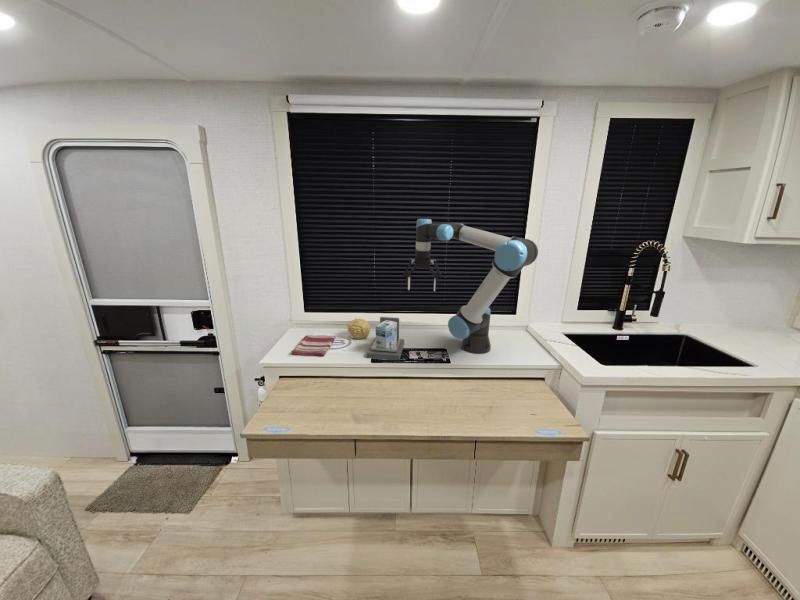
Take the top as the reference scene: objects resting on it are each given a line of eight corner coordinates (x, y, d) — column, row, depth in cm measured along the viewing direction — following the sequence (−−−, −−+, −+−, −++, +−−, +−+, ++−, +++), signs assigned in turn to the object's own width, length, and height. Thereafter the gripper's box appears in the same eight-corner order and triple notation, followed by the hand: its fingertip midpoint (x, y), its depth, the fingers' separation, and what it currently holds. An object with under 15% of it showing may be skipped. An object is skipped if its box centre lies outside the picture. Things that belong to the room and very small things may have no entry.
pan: (400, 342, 171) (400, 339, 171) (397, 353, 159) (397, 350, 159) (376, 340, 173) (376, 337, 172) (371, 351, 161) (371, 348, 160)
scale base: (404, 343, 176) (404, 318, 172) (399, 360, 157) (399, 332, 153) (375, 341, 178) (375, 316, 174) (366, 357, 159) (366, 330, 155)
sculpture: (345, 339, 180) (344, 321, 177) (355, 331, 191) (354, 314, 188) (364, 342, 177) (364, 323, 174) (373, 334, 188) (373, 316, 185)
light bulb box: (386, 349, 159) (386, 328, 156) (375, 346, 163) (374, 325, 160) (397, 341, 168) (397, 321, 165) (386, 338, 172) (386, 319, 168)
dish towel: (290, 356, 161) (290, 351, 160) (306, 337, 183) (306, 333, 182) (324, 357, 160) (323, 353, 159) (336, 338, 182) (336, 334, 181)
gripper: (447, 249, 169) (445, 289, 175) (399, 248, 172) (399, 287, 178) (447, 251, 162) (445, 293, 168) (397, 250, 165) (397, 290, 171)
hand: (421, 290), depth 173 cm, fingers open, 13 cm apart
